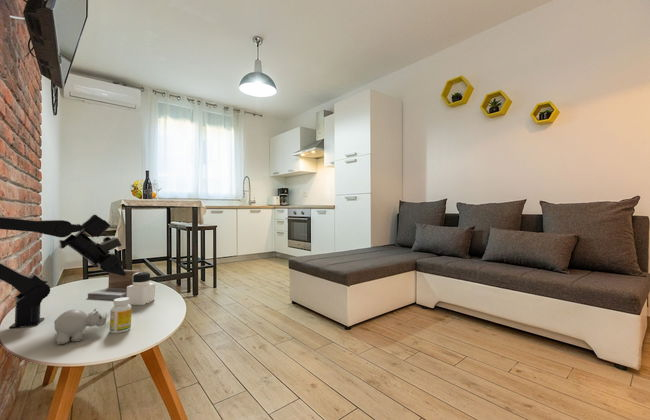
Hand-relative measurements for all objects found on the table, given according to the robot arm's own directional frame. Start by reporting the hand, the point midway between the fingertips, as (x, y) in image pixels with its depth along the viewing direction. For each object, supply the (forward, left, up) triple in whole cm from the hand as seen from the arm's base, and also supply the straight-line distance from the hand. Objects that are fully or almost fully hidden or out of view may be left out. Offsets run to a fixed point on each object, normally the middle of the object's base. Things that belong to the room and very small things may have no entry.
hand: (121, 273), depth 113 cm
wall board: (+18, +5, -13) cm, 22 cm away
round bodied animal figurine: (-29, +6, -13) cm, 33 cm away
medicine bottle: (+3, -6, -13) cm, 15 cm away
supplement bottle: (-27, -3, -13) cm, 30 cm away
